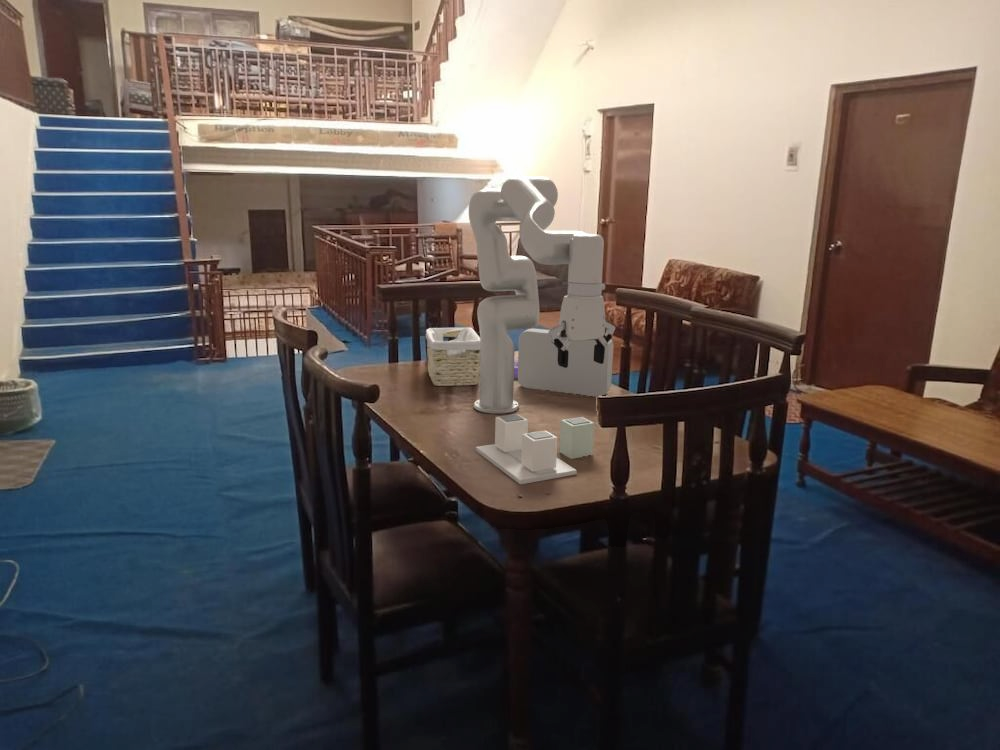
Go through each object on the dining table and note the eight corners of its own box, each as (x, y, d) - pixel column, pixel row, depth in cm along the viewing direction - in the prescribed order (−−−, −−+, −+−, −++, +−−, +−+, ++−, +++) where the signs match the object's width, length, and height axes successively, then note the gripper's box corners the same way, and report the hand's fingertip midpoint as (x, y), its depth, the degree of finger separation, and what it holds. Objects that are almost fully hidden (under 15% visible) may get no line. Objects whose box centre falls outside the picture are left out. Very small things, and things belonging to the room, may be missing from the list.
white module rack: (475, 450, 174) (476, 415, 172) (527, 442, 180) (528, 408, 178) (520, 484, 155) (521, 445, 153) (576, 474, 161) (578, 436, 159)
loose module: (559, 451, 175) (561, 419, 173) (580, 448, 177) (582, 416, 175) (570, 459, 170) (572, 425, 168) (592, 455, 173) (594, 422, 171)
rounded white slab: (612, 392, 226) (616, 335, 221) (605, 398, 219) (609, 339, 215) (526, 381, 237) (527, 326, 232) (517, 386, 230) (518, 330, 225)
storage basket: (425, 369, 249) (424, 326, 245) (472, 368, 252) (472, 326, 248) (431, 388, 226) (431, 341, 222) (483, 387, 229) (483, 340, 225)
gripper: (606, 286, 171) (602, 357, 175) (542, 289, 163) (540, 364, 168) (626, 290, 165) (621, 364, 169) (560, 294, 157) (557, 371, 161)
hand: (580, 364), depth 168 cm, fingers open, 9 cm apart
